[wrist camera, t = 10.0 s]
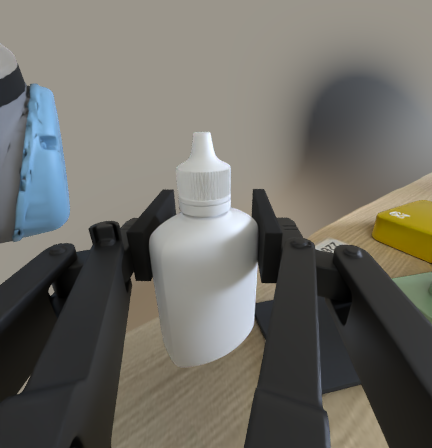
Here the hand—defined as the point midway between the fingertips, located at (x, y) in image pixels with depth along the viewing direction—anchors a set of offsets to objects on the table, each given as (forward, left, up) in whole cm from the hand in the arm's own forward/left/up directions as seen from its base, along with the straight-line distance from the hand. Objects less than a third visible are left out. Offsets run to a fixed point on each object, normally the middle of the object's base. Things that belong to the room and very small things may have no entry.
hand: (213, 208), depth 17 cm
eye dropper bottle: (-1, -5, -7) cm, 9 cm away
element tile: (+39, +10, -14) cm, 42 cm away
